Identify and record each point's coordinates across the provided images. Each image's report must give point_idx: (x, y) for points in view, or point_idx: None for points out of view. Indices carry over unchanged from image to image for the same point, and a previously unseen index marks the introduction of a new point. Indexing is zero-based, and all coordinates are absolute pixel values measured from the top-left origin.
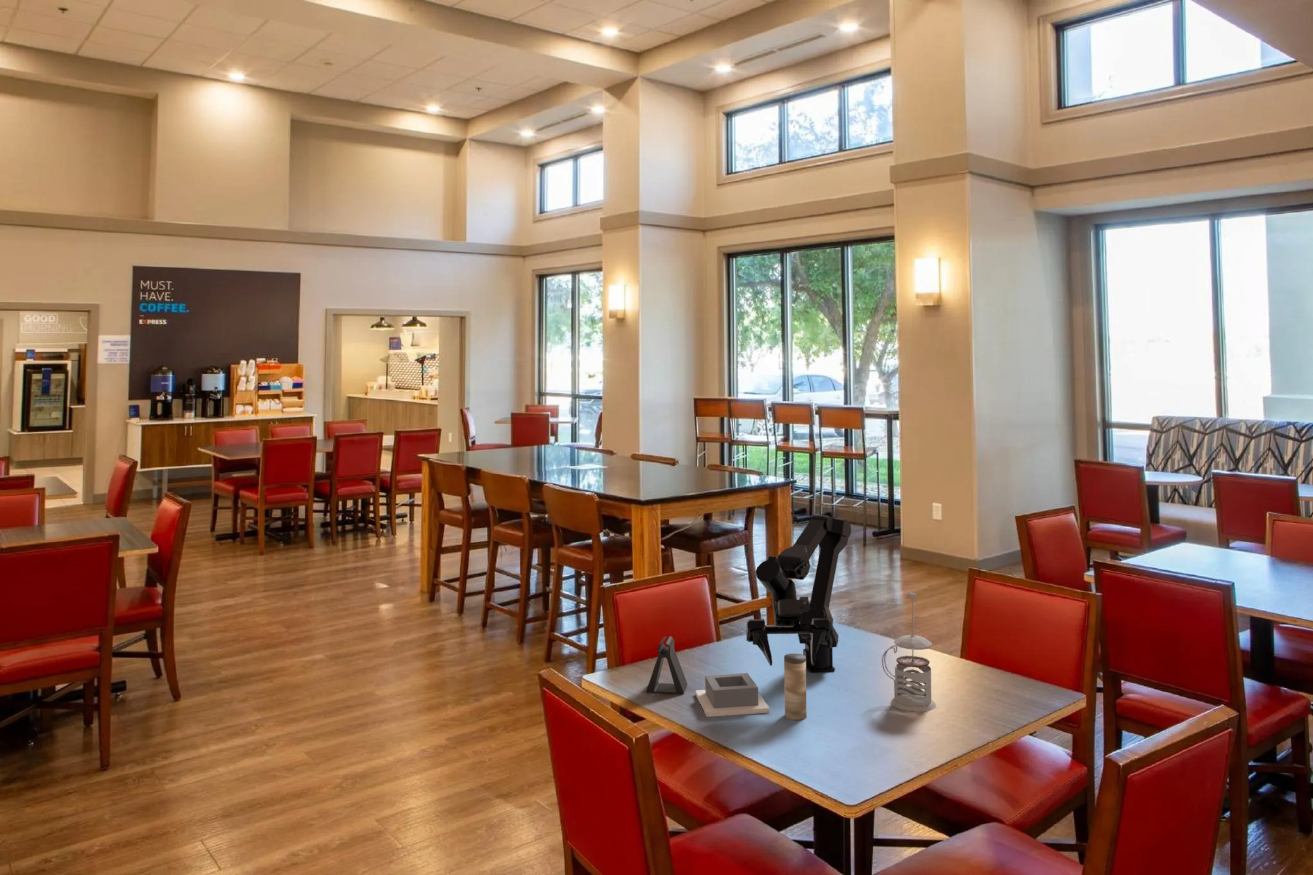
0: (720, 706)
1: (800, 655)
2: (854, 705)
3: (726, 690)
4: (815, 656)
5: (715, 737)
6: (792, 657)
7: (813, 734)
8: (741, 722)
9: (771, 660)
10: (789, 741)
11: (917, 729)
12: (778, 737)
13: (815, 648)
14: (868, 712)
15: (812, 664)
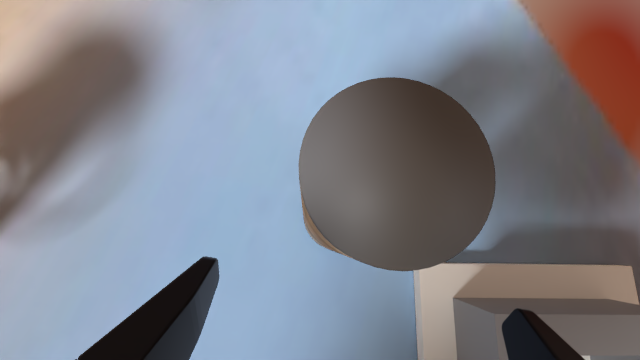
0: (590, 300)
1: (336, 192)
2: (106, 269)
3: (630, 314)
4: (164, 288)
5: (589, 113)
6: (424, 151)
7: (329, 78)
8: (511, 199)
9: (535, 326)
10: (403, 51)
11: (32, 49)
12: (425, 79)
13: (100, 355)
14: (95, 197)
15: (218, 270)
